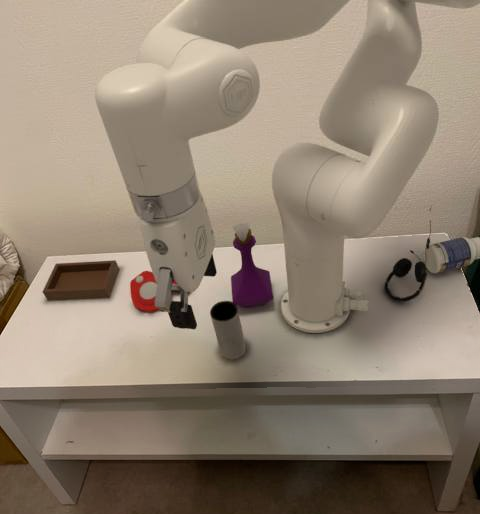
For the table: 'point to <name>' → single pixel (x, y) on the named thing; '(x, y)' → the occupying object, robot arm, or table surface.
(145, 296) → the tracker holder
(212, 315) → the gray hollow tube
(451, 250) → the pill bottle
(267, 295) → the perfume bottle
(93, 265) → the shelf tray
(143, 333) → the table surface
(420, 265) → the headset
